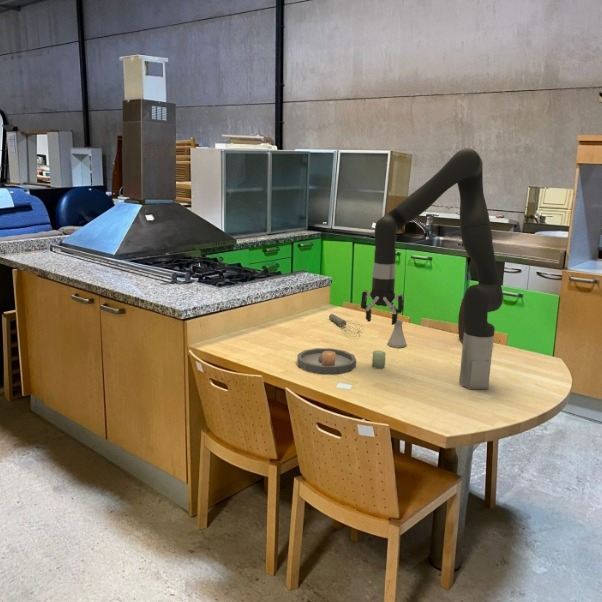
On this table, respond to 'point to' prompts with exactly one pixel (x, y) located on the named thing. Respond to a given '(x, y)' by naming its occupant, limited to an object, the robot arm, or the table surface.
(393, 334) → the flask
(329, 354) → the terracotta bead
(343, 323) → the kitchen whisk
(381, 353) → the pale green rounded cylinder
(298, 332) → the table surface
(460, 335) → the small grey backpack
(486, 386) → the robot arm
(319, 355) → the ring tray
